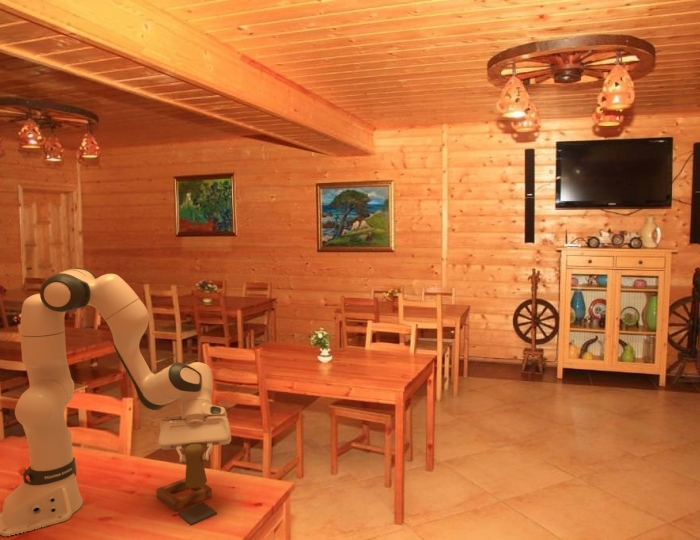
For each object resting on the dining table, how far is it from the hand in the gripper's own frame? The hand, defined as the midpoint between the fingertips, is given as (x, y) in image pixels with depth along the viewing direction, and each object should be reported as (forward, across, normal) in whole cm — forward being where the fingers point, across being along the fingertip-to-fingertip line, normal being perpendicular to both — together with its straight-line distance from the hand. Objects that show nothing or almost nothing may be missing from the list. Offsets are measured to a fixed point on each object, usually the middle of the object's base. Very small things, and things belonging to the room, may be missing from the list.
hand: (194, 461), depth 155 cm
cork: (+4, 0, +6) cm, 7 cm away
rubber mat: (+11, 0, +12) cm, 16 cm away
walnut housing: (+3, -5, +20) cm, 20 cm away
